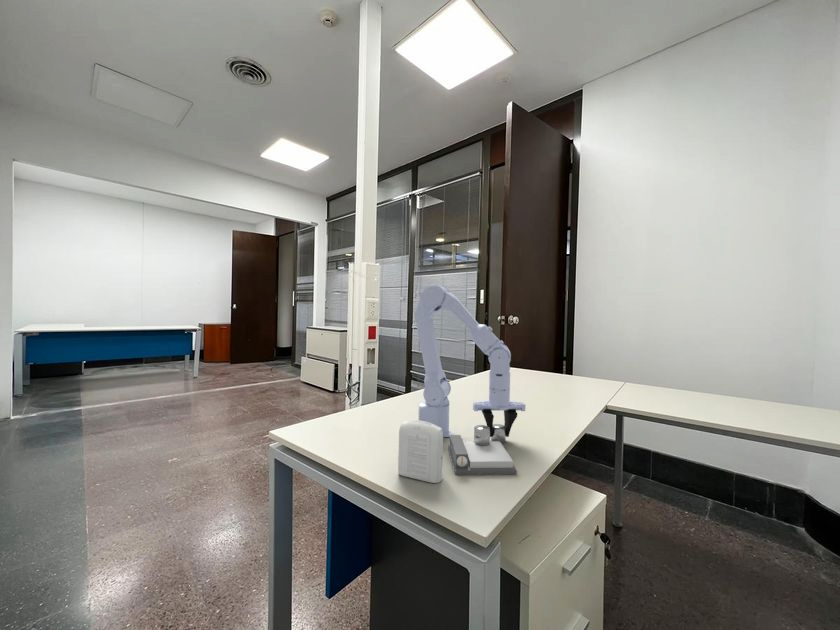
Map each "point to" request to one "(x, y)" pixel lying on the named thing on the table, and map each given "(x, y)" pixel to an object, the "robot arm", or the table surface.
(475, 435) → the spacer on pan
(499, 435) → the spacer
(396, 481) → the table surface
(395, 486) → the table surface
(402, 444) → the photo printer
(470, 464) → the scale
